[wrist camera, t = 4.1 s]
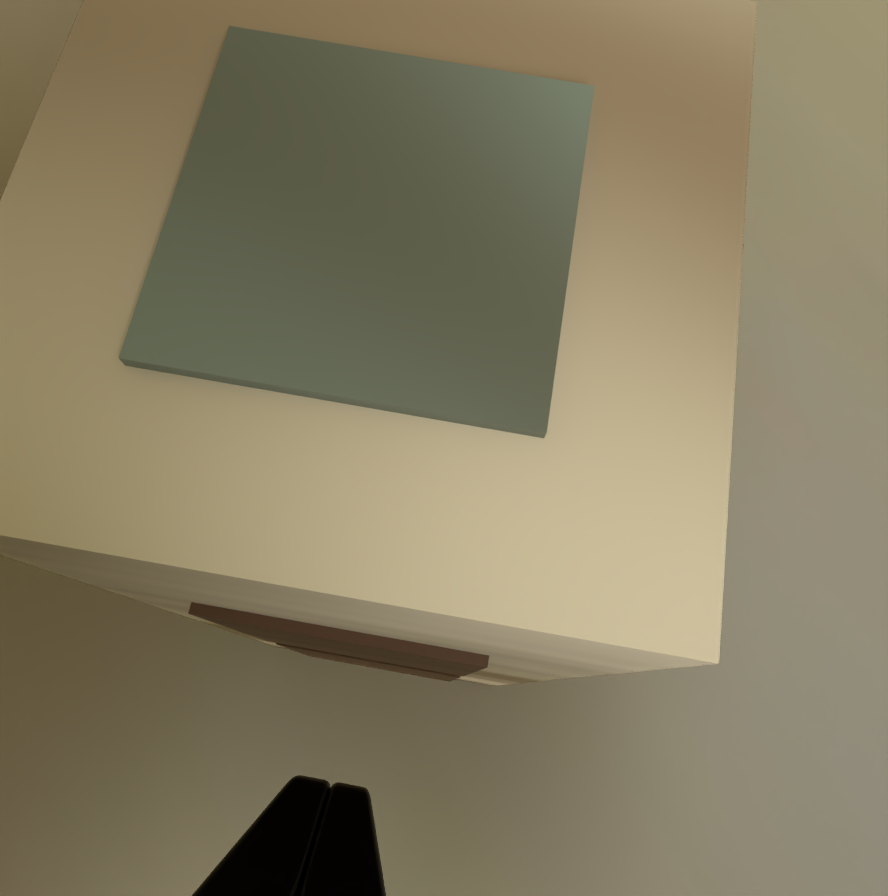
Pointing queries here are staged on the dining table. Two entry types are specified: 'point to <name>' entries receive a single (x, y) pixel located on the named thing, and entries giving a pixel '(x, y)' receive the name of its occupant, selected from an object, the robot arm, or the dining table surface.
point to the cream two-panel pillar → (386, 325)
